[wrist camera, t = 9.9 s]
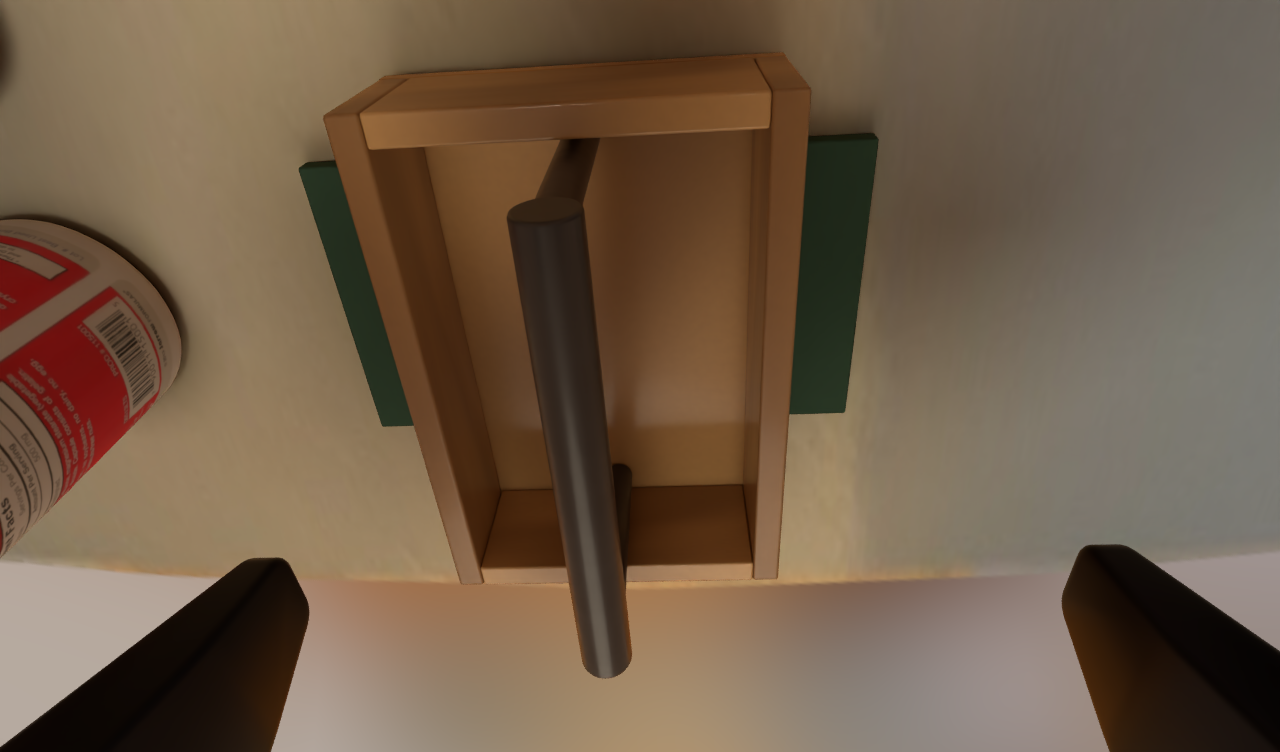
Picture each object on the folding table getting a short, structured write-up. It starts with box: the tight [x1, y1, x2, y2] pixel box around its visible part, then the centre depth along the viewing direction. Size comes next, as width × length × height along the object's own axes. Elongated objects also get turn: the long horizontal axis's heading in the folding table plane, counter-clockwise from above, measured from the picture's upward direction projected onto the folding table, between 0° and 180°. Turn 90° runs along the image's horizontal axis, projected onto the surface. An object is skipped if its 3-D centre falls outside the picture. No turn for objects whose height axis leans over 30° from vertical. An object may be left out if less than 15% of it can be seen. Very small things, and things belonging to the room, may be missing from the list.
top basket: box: [323, 52, 811, 679], centre depth 17 cm, size 9×13×7 cm
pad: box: [299, 133, 879, 427], centre depth 19 cm, size 14×8×1 cm, turn 93°
